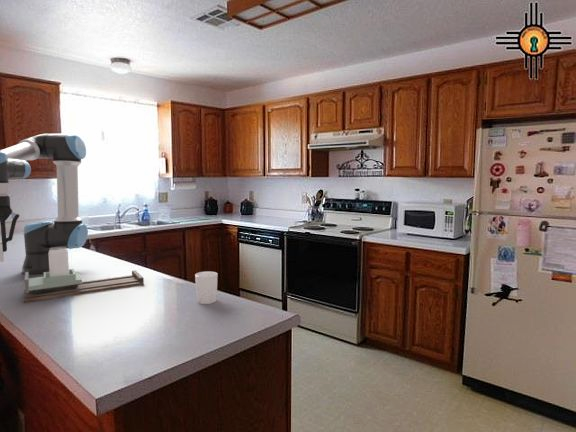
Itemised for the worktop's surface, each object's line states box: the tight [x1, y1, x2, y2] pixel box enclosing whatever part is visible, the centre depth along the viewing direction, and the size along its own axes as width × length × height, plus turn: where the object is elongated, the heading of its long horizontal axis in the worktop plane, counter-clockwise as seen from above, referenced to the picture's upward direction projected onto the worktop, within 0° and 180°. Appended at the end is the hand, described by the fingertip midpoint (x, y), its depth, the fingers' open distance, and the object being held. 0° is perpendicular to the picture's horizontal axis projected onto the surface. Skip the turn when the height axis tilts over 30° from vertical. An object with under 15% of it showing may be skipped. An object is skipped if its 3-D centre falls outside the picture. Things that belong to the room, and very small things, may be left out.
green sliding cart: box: [24, 268, 83, 294], centre depth 149 cm, size 13×18×6 cm
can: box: [48, 247, 70, 277], centre depth 149 cm, size 6×6×12 cm
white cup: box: [194, 271, 218, 305], centre depth 139 cm, size 8×8×10 cm
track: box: [23, 269, 145, 303], centre depth 155 cm, size 15×41×3 cm, turn 123°
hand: (1, 260), depth 139 cm, fingers closed
